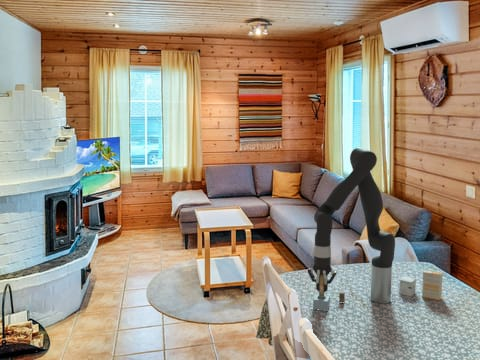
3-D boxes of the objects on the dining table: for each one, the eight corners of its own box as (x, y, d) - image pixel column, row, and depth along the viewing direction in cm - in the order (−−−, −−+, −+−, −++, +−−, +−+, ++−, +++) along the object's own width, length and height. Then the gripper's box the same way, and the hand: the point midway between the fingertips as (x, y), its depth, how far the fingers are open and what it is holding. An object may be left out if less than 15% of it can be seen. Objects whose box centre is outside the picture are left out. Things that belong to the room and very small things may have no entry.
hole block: (315, 304, 208) (315, 293, 208) (329, 306, 206) (329, 295, 205) (313, 309, 202) (313, 299, 202) (327, 311, 200) (327, 301, 199)
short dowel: (339, 301, 211) (339, 292, 211) (344, 301, 211) (344, 292, 210) (338, 303, 209) (339, 294, 208) (344, 303, 208) (344, 294, 208)
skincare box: (398, 293, 219) (399, 279, 218) (403, 289, 224) (403, 275, 222) (411, 296, 215) (411, 282, 214) (415, 292, 220) (416, 278, 219)
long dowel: (319, 294, 205) (319, 273, 203) (324, 294, 204) (325, 273, 202) (318, 296, 202) (318, 275, 201) (323, 296, 202) (324, 275, 200)
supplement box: (441, 297, 214) (443, 271, 212) (440, 301, 210) (441, 274, 208) (423, 294, 218) (424, 268, 216) (421, 297, 214) (422, 271, 212)
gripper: (339, 253, 201) (338, 289, 204) (308, 250, 206) (308, 286, 209) (336, 258, 194) (335, 296, 197) (305, 255, 199) (304, 292, 202)
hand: (321, 290), depth 203 cm, fingers closed on long dowel, 2 cm apart
